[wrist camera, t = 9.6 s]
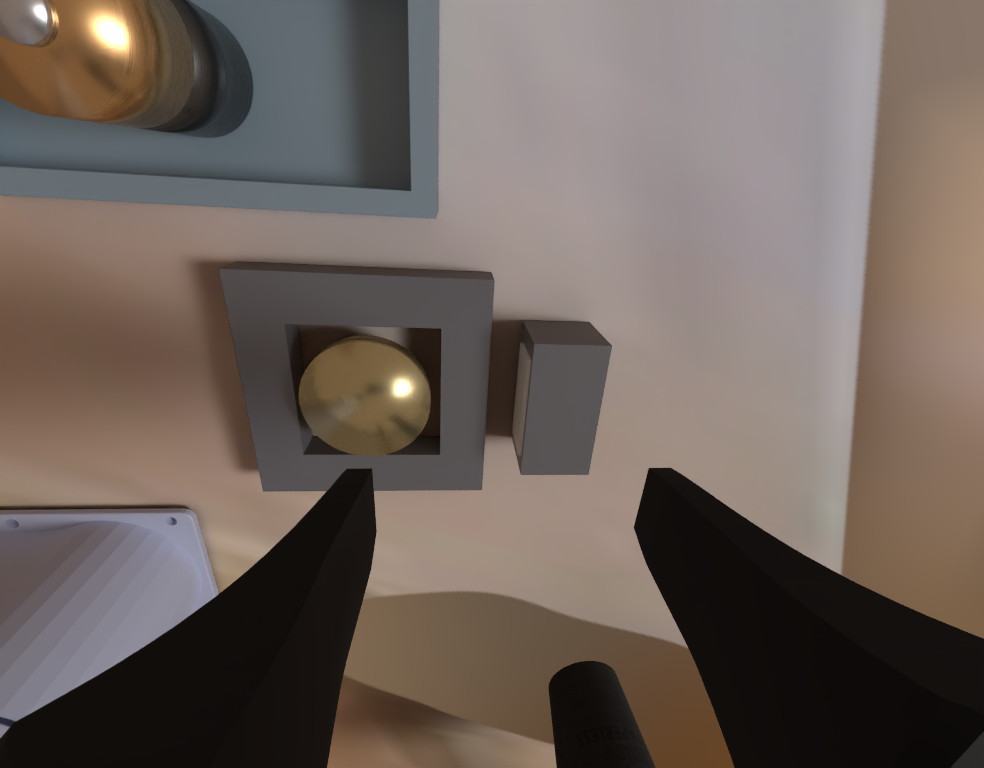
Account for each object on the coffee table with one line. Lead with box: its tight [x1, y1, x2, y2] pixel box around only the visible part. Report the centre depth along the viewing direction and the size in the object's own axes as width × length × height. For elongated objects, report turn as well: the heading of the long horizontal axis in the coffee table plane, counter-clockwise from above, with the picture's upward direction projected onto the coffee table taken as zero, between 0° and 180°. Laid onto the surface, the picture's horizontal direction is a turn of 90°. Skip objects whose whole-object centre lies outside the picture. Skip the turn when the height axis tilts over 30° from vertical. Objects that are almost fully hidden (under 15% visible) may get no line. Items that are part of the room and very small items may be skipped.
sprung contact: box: [299, 335, 431, 456], centre depth 18 cm, size 5×5×1 cm
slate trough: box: [0, 0, 439, 219], centre depth 14 cm, size 16×8×3 cm, turn 87°
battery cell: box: [0, 0, 253, 138], centre depth 11 cm, size 4×4×6 cm
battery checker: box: [219, 262, 612, 491], centre depth 19 cm, size 14×10×3 cm
